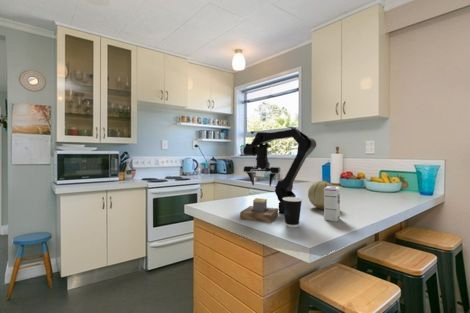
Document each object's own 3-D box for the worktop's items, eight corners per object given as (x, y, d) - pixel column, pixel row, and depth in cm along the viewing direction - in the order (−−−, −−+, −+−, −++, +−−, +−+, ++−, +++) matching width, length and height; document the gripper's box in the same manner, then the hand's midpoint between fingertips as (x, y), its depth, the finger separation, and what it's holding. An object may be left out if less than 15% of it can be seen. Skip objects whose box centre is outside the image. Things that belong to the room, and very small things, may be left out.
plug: (266, 216, 118) (266, 199, 118) (263, 218, 113) (263, 201, 113) (256, 215, 120) (256, 198, 119) (253, 217, 115) (253, 200, 115)
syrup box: (337, 221, 109) (338, 188, 109) (323, 219, 112) (324, 187, 112) (339, 218, 114) (340, 186, 114) (326, 216, 117) (326, 185, 117)
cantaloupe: (308, 210, 129) (308, 181, 129) (307, 204, 143) (307, 178, 143) (339, 212, 126) (339, 182, 125) (334, 206, 140) (335, 179, 140)
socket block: (277, 214, 120) (278, 208, 120) (270, 222, 107) (271, 215, 107) (250, 211, 125) (250, 205, 125) (240, 218, 112) (240, 212, 112)
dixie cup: (303, 224, 105) (303, 197, 105) (300, 229, 98) (300, 201, 98) (284, 221, 108) (285, 196, 108) (280, 226, 101) (280, 199, 101)
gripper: (282, 156, 137) (282, 184, 137) (250, 155, 144) (249, 183, 144) (278, 156, 127) (277, 187, 127) (243, 156, 134) (243, 185, 134)
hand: (261, 185), depth 133 cm, fingers open, 9 cm apart
